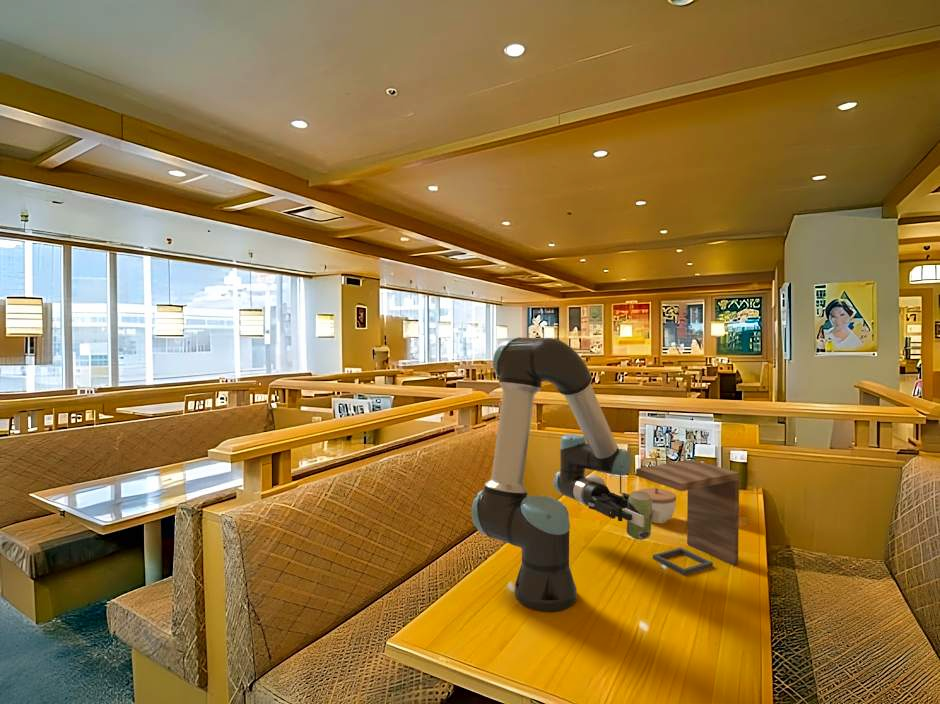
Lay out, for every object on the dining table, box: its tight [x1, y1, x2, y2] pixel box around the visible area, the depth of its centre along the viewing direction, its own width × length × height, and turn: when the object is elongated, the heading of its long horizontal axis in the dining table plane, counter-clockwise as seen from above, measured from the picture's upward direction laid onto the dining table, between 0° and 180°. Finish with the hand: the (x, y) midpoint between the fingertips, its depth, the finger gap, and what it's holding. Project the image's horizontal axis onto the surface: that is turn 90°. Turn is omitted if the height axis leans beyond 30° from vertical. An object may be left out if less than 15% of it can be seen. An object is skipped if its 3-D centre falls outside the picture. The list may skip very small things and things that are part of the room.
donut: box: [584, 474, 607, 486], centre depth 195 cm, size 10×4×10 cm, turn 52°
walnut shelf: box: [635, 459, 740, 567], centre depth 143 cm, size 22×16×26 cm
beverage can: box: [626, 490, 652, 541], centre depth 134 cm, size 6×7×12 cm
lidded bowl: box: [638, 487, 677, 524], centre depth 175 cm, size 13×13×11 cm
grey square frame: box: [652, 547, 714, 576], centre depth 143 cm, size 11×11×1 cm
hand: (651, 519), depth 129 cm, fingers closed on beverage can, 5 cm apart
